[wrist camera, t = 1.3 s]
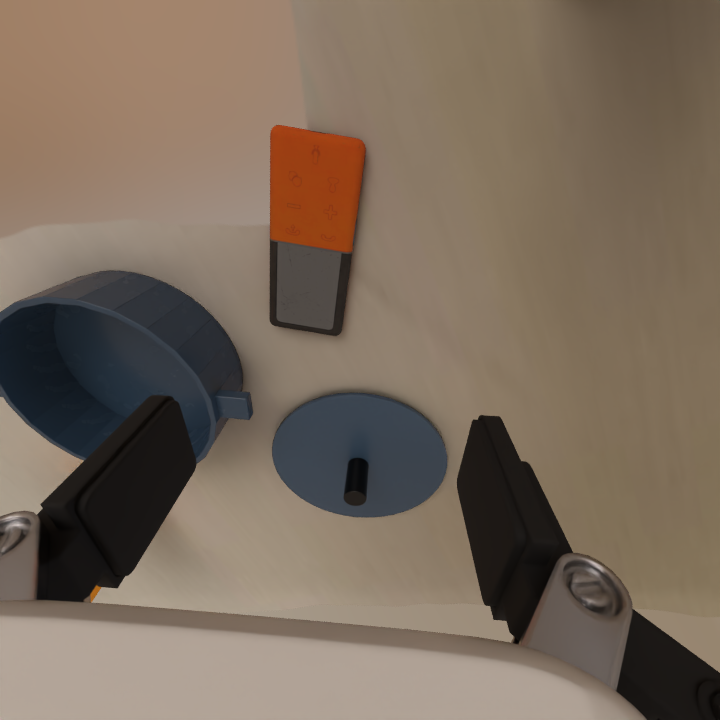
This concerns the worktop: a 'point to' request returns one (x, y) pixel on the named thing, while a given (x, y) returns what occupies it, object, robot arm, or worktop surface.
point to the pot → (116, 360)
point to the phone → (312, 226)
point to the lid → (359, 455)
